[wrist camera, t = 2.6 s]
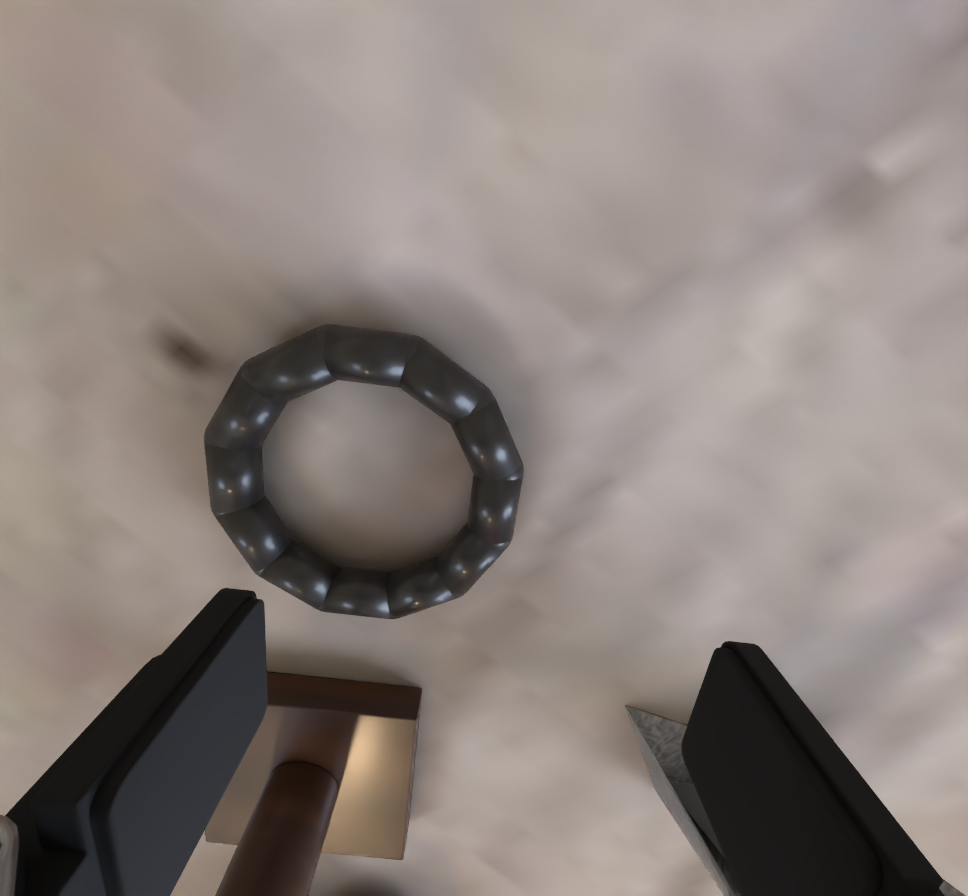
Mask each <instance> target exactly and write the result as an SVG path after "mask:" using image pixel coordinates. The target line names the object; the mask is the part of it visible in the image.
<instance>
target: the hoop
mask: <svg viewBox="0 0 968 896" xmlns="http://www.w3.org/2000/svg"><path fill="white" fill-rule="evenodd" d="M336 380H343V381H351V382H359V383H367V384H375V385H383V386H391V387H399V388H401V389H402V390H404V391H405V392H407V393H408V394H409V395H411V396H412V397H414V398H415V399H416V400H418V401H419V402H421V403H422V404H423V405H425V406H426V407H428V408H429V409H430V410H432V411H433V412H435V413H436V414H437V415H439V416H440V417H442V418H443V419H444V420H446V421H447V422H449V423H450V424H451V426H452V428H453V430H454V433H455V435H456V437H457V439H458V441H459V443H460V445H461V448H462V450H463V452H464V454H465V456H466V458H467V460H468V463H469V465H470V467H471V469H472V471H473V473H474V476H473V484H472V492H471V500H470V508H469V515H468V522H467V523H466V524H465V525H464V526H463V528H462V529H461V530H460V531H459V532H458V533H457V535H456V536H455V537H454V538H453V539H452V541H451V542H450V543H449V544H448V545H447V546H446V548H445V549H444V550H443V551H442V552H441V553H440V555H439V556H437V557H435V558H432V559H429V560H426V561H424V562H421V563H418V564H415V565H412V566H410V567H407V568H404V569H401V570H399V571H396V572H393V573H390V572H381V571H372V570H363V569H354V568H345V567H339V566H337V565H336V564H334V563H332V562H331V561H329V560H327V559H326V558H324V557H322V556H321V555H319V554H317V553H316V552H314V551H312V550H311V549H309V548H307V547H306V546H304V545H302V544H301V543H299V542H297V541H296V540H294V539H293V538H292V537H291V535H290V533H289V532H288V530H287V529H286V527H285V526H284V524H283V523H282V521H281V520H280V518H279V517H278V515H277V513H276V512H275V510H274V509H273V507H272V506H271V504H270V503H269V501H268V500H267V498H266V497H265V495H264V485H263V465H262V445H261V444H262V442H263V441H264V439H265V438H266V436H267V434H268V433H269V431H270V430H271V428H272V426H273V425H274V423H275V421H276V420H277V418H278V417H279V415H280V413H281V412H282V410H283V408H284V407H285V405H286V404H287V402H289V401H291V400H293V399H295V398H298V397H300V396H302V395H304V394H307V393H309V392H311V391H314V390H316V389H318V388H320V387H323V386H325V385H327V384H330V383H332V382H334V381H336ZM204 444H205V454H206V465H207V475H208V486H209V496H210V506H211V510H212V512H213V514H214V516H215V517H216V519H217V520H218V522H219V523H220V525H221V526H222V527H223V529H224V530H225V532H226V533H227V534H228V536H229V537H230V539H231V540H232V542H233V543H234V544H235V546H236V547H237V549H238V550H239V552H240V553H241V554H242V556H243V557H244V559H245V560H246V561H247V563H248V564H249V566H250V567H251V569H252V570H253V571H254V572H255V573H256V574H257V575H258V576H260V577H261V578H263V579H265V580H267V581H268V582H270V583H272V584H274V585H275V586H277V587H279V588H281V589H282V590H284V591H286V592H288V593H289V594H291V595H293V596H295V597H296V598H298V599H300V600H302V601H303V602H305V603H307V604H309V605H310V606H312V607H314V608H316V609H317V610H320V611H323V612H329V613H338V614H348V615H357V616H366V617H375V618H384V619H397V618H401V617H404V616H407V615H410V614H412V613H415V612H418V611H421V610H424V609H427V608H430V607H433V606H436V605H439V604H442V603H445V602H447V601H450V600H453V599H456V598H459V597H461V596H463V595H464V594H465V593H466V592H467V591H468V590H469V589H470V588H471V587H472V586H473V585H474V584H475V582H476V581H477V580H478V579H479V578H480V577H481V576H482V575H483V574H484V572H485V571H486V570H487V569H488V568H489V567H490V566H491V565H492V564H493V562H494V561H495V560H496V559H497V558H498V557H499V556H500V555H501V554H502V552H503V551H504V550H505V549H506V548H507V547H508V546H509V544H510V542H511V540H512V537H513V532H514V526H515V520H516V514H517V508H518V502H519V496H520V490H521V484H522V478H523V463H522V460H521V458H520V456H519V453H518V451H517V449H516V446H515V444H514V441H513V439H512V437H511V434H510V432H509V430H508V427H507V425H506V423H505V420H504V418H503V415H502V413H501V411H500V408H499V406H498V404H497V401H496V399H495V397H494V395H493V393H492V391H491V390H490V389H489V388H488V387H487V386H486V385H484V384H483V383H482V382H480V381H479V380H478V379H476V378H475V377H474V376H472V375H471V374H470V373H468V372H467V371H466V370H464V369H463V368H462V367H460V366H459V365H458V364H456V363H455V362H454V361H452V360H451V359H450V358H448V357H447V356H446V355H444V354H443V353H442V352H440V351H439V350H438V349H436V348H435V347H434V346H432V345H431V344H430V343H428V342H427V341H426V340H424V339H423V338H421V337H419V336H416V335H411V334H404V333H396V332H388V331H380V330H373V329H365V328H357V327H349V326H341V325H332V324H327V325H322V326H319V327H317V328H315V329H313V330H310V331H308V332H306V333H304V334H302V335H300V336H297V337H295V338H293V339H291V340H289V341H287V342H284V343H282V344H280V345H278V346H276V347H274V348H271V349H269V350H267V351H265V352H263V353H261V354H258V355H256V356H254V357H252V358H250V359H248V360H247V361H246V362H245V363H244V364H243V365H242V366H241V367H240V369H239V371H238V373H237V375H236V376H235V378H234V380H233V382H232V383H231V385H230V387H229V389H228V390H227V392H226V394H225V396H224V398H223V399H222V401H221V403H220V405H219V406H218V408H217V410H216V412H215V414H214V415H213V417H212V419H211V421H210V422H209V424H208V426H207V428H206V430H205V434H204Z"/></svg>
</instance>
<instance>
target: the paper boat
mask: <svg viewBox="0 0 968 896" xmlns="http://www.w3.org/2000/svg"><path fill="white" fill-rule="evenodd" d="M626 709H627V712H628V715H629V717H630V720H631V723H632V726H633V729H634V731H635V734H636V737H637V740H638V743H639V745H640V748H641V751H642V754H643V756H644V759H645V762H646V765H647V768H648V770H649V773H650V776H651V779H652V782H653V784H654V787H655V790H656V792H657V793H658V795H659V796H660V798H661V799H662V801H663V803H664V804H665V806H666V807H667V809H668V810H669V812H670V813H671V815H672V816H673V818H674V820H675V821H676V823H677V824H678V826H679V827H680V829H681V830H682V832H683V833H684V835H685V837H686V838H687V840H688V841H689V843H690V844H691V846H692V847H693V849H694V850H695V852H696V853H697V855H698V857H699V858H700V860H701V861H702V863H703V864H704V866H705V867H706V869H707V870H708V872H709V874H710V875H711V877H712V878H713V880H714V881H715V883H716V884H717V886H718V887H719V889H720V891H721V892H722V894H723V895H724V896H741V894H740V892H739V889H738V887H737V884H736V882H735V880H734V877H733V875H732V873H731V870H730V868H729V866H728V863H727V861H726V859H725V856H724V854H723V852H722V849H721V847H720V845H719V842H718V840H717V838H716V835H715V833H714V831H713V828H712V826H711V824H710V821H709V819H708V817H707V814H706V812H705V810H704V807H703V805H702V803H701V800H700V798H699V796H698V793H697V791H696V789H695V786H694V784H693V782H692V779H691V777H690V775H689V772H688V770H687V768H686V765H685V763H684V760H683V756H682V750H681V744H682V739H683V736H684V734H685V731H686V728H687V726H686V725H683V724H680V723H677V722H674V721H671V720H668V719H665V718H662V717H659V716H655V715H652V714H649V713H646V712H643V711H640V710H637V709H634V708H631V707H628V706H626ZM943 881H944V882H943V883H942V884H941V886H940V887H939V889H940V890H941V891H942V893H943V894H944V895H945V896H965V895H964V894H963V893H961V892H960V891H959V890H957V889H956V888H954V887H953V886H952V885H950V884H949V883H948V882H946V881H945V880H944V879H943Z"/></svg>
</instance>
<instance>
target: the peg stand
mask: <svg viewBox="0 0 968 896" xmlns="http://www.w3.org/2000/svg"><path fill="white" fill-rule="evenodd" d="M267 695H268V702H267V708H266V712H265V715H264V718H263V720H262V722H261V724H260V726H259V728H258V730H257V732H256V734H255V736H254V737H253V739H252V741H251V743H250V745H249V747H248V749H247V751H246V753H245V755H244V756H243V758H242V760H241V762H240V764H239V766H238V768H237V770H236V772H235V773H234V775H233V777H232V779H231V781H230V783H229V785H228V787H227V789H226V790H225V792H224V794H223V796H222V798H221V800H220V802H219V804H218V806H217V808H216V809H215V811H214V813H213V815H212V817H211V819H210V821H209V823H208V825H207V826H206V828H205V835H206V841H207V842H212V843H223V844H234V845H238V846H237V848H236V850H235V853H234V855H233V857H232V859H231V861H230V864H229V866H228V868H227V870H226V873H225V875H224V877H223V879H222V881H221V884H220V886H219V888H218V890H217V893H216V895H215V896H308V894H309V890H310V887H311V884H312V880H313V877H314V874H315V870H316V867H317V864H318V860H319V857H320V854H321V853H331V854H342V855H352V856H363V857H374V858H385V859H396V860H403V858H404V851H405V845H406V838H407V831H408V825H409V815H410V805H411V795H412V785H413V776H414V766H415V756H416V746H417V736H418V727H419V717H420V707H421V697H422V689H421V688H414V687H404V686H395V685H385V684H375V683H366V682H356V681H347V680H337V679H328V678H318V677H309V676H299V675H289V674H280V673H270V672H267Z"/></svg>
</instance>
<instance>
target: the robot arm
mask: <svg viewBox="0 0 968 896" xmlns="http://www.w3.org/2000/svg"><path fill="white" fill-rule="evenodd" d="M267 702H268V695H267V668H266V641H265V614H264V602H263V600H261V599H257V598H256V594H255V592H253V591H248V590H239V589H229V588H224V589H221V590H220V591H219V592H218V593H217V594H216V595H215V596H214V597H213V598H212V600H211V601H210V602H209V603H208V604H207V605H206V606H205V607H204V608H203V609H202V610H201V612H200V613H199V614H198V615H197V616H196V617H195V618H194V619H193V620H192V621H191V623H190V624H189V625H188V626H187V627H186V628H185V629H184V630H183V631H182V632H181V634H180V635H179V636H178V637H177V638H176V639H175V640H174V641H173V642H172V643H171V645H170V646H169V647H168V648H167V649H166V650H165V651H164V652H163V653H162V654H161V655H158V656H156V657H154V658H152V659H151V660H150V661H149V662H148V663H147V664H146V665H145V666H144V667H143V668H142V669H141V670H140V671H139V672H138V673H137V674H136V675H135V676H134V677H133V678H132V680H131V681H130V682H129V683H128V684H127V685H126V686H125V687H124V688H123V689H122V690H121V691H120V692H119V694H118V695H117V696H116V697H115V698H114V699H113V700H112V701H111V702H110V703H109V704H108V705H107V706H106V708H105V709H104V710H103V711H102V712H101V713H100V714H99V715H98V716H97V717H96V718H95V719H94V720H93V722H92V723H91V724H90V725H89V726H88V727H87V728H86V729H85V730H84V731H83V732H82V733H81V734H80V736H79V737H78V738H77V739H76V740H75V741H74V742H73V743H72V744H71V745H70V746H69V747H68V748H67V750H66V751H65V752H64V753H63V754H62V755H61V756H60V757H59V758H58V759H57V760H56V761H55V762H54V764H53V765H52V766H51V767H50V768H49V769H48V770H47V771H46V772H45V773H44V774H43V775H42V776H41V778H40V779H39V780H38V781H37V782H36V783H35V784H34V785H33V786H32V787H31V788H30V789H29V790H28V792H27V793H26V794H25V795H24V796H23V797H22V798H21V799H20V800H19V801H18V802H17V803H16V804H15V806H14V807H13V808H12V809H11V810H10V811H9V812H8V813H7V814H6V815H5V816H2V815H0V896H170V895H171V893H172V891H173V889H174V887H175V885H176V883H177V881H178V879H179V878H180V876H181V874H182V872H183V870H184V868H185V866H186V864H187V862H188V861H189V859H190V857H191V855H192V853H193V851H194V849H195V847H196V845H197V843H198V842H199V840H200V838H201V836H202V834H203V832H204V830H205V828H206V826H207V825H208V823H209V821H210V819H211V817H212V815H213V813H214V811H215V809H216V808H217V806H218V804H219V802H220V800H221V798H222V796H223V794H224V792H225V790H226V789H227V787H228V785H229V783H230V781H231V779H232V777H233V775H234V773H235V772H236V770H237V768H238V766H239V764H240V762H241V760H242V758H243V756H244V755H245V753H246V751H247V749H248V747H249V745H250V743H251V741H252V739H253V737H254V736H255V734H256V732H257V730H258V728H259V726H260V724H261V722H262V720H263V718H264V715H265V712H266V708H267ZM681 750H682V756H683V760H684V763H685V765H686V768H687V770H688V772H689V775H690V777H691V779H692V782H693V784H694V786H695V789H696V791H697V793H698V796H699V798H700V800H701V803H702V805H703V807H704V810H705V812H706V814H707V817H708V819H709V821H710V824H711V826H712V828H713V831H714V833H715V835H716V838H717V840H718V842H719V845H720V847H721V849H722V852H723V854H724V856H725V859H726V861H727V863H728V866H729V868H730V870H731V873H732V875H733V877H734V880H735V882H736V884H737V887H738V889H739V892H740V894H741V896H945V895H944V894H943V893H942V891H941V890H940V889H939V887H940V886H941V884H942V883H943V882H944V881H943V879H942V878H941V877H940V875H939V874H938V873H937V872H936V870H935V869H934V868H933V867H932V865H931V864H930V863H929V861H928V860H927V859H926V858H925V856H924V855H923V854H922V853H921V851H920V850H919V849H918V848H917V846H916V845H915V844H914V842H913V841H912V840H911V839H910V837H909V836H908V835H907V834H906V832H905V831H904V830H903V828H902V827H901V826H900V825H899V823H898V822H897V821H896V820H895V818H894V817H893V816H892V814H891V813H890V812H889V811H888V809H887V808H886V807H885V806H884V804H883V803H882V802H881V800H880V799H879V798H878V797H877V795H876V794H875V793H874V792H873V790H872V789H871V788H870V786H869V785H868V784H867V783H866V781H865V780H864V779H863V778H862V776H861V775H860V774H859V772H858V771H857V770H856V769H855V767H854V766H853V765H852V764H851V762H850V761H849V760H848V758H847V757H846V756H845V755H844V753H843V752H842V751H841V750H840V748H839V747H838V746H837V744H836V743H835V742H834V741H833V739H832V738H831V737H830V736H829V734H828V733H827V732H826V730H825V729H824V728H823V727H822V725H821V724H820V723H819V722H818V720H817V719H816V718H815V716H814V715H813V714H812V713H811V711H810V710H809V709H808V708H807V706H806V705H805V704H804V702H803V701H802V700H801V699H800V697H799V696H798V695H797V694H796V692H795V691H794V690H793V688H792V687H791V686H790V685H789V683H788V682H787V681H786V680H785V678H784V677H783V676H782V674H781V673H780V672H779V671H778V669H777V668H776V667H775V666H774V664H773V663H772V662H771V660H770V659H769V658H768V657H767V655H766V654H765V653H764V652H763V650H762V649H761V648H760V647H759V646H757V645H755V644H750V643H740V642H731V641H728V642H725V643H723V644H722V646H721V648H717V649H715V651H714V652H713V655H712V658H711V661H710V663H709V666H708V669H707V672H706V675H705V677H704V680H703V683H702V686H701V689H700V691H699V694H698V697H697V700H696V703H695V706H694V708H693V711H692V714H691V717H690V720H689V722H688V725H687V728H686V731H685V734H684V736H683V739H682V744H681Z"/></svg>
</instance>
